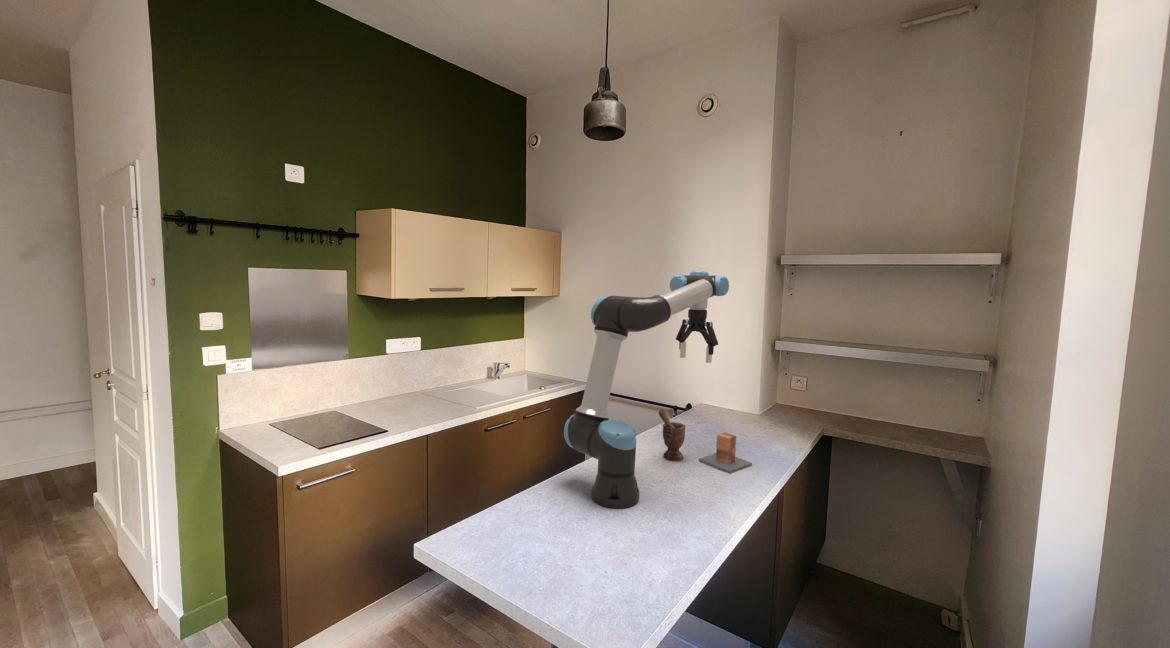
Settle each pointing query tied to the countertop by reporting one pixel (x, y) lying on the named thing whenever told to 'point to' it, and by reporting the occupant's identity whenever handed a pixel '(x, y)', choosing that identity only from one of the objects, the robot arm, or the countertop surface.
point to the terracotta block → (726, 448)
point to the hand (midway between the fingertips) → (695, 360)
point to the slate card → (724, 467)
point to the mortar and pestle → (672, 437)
